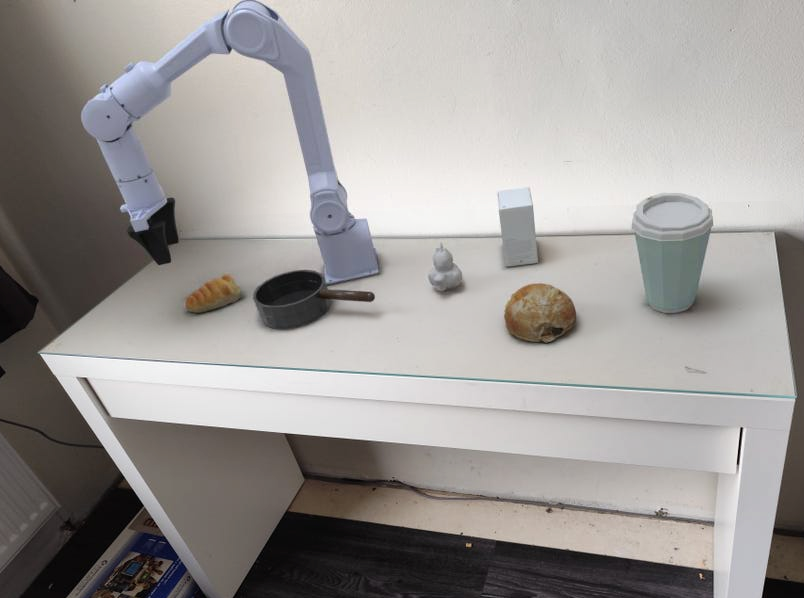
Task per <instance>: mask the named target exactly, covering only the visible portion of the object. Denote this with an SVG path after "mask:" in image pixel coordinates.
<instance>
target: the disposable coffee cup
mask: <svg viewBox="0 0 804 598" xmlns="http://www.w3.org/2000/svg"><path fill="white" fill-rule="evenodd" d="M630 227H631V230H633V232H634V237H635V242H636V248H637V253H638V259H639V265H640V271H641V276H642V281H643V287H644V293H645V299H646V302H648V305H649V307H651V308H652V309H653V311H656V312H660V313H662V314H678V313H682V312H685V311H687V310H688V309H689V308H691V307H692V305H693V304H694V302H695V301H696V297H697V294H698V293H697V292H698V288H699V284H700V280H701V276H702V272H703V271H702V270H703V267H704V262H705V257H706V253H707V249H708V245H709V239H710V235H711V232H712V228H713V227H714V216H713V210H712V208H710V207H709V205H708V204H707V203H705V201H702V200H701V199H700V198H699V197H697V196H693V195H689V194H685V193H681V192H680V193H679V192H662V193H658V194H653V195H651V196H649V197H646V198H644V199H643V200H641V201H640V202H639V203H638V204H636V207H635V211H634V212H633V215H632V219H631V226H630Z"/></svg>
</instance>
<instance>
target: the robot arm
mask: <svg viewBox="0 0 804 598" xmlns="http://www.w3.org/2000/svg"><path fill="white" fill-rule="evenodd" d="M232 51H234V52H236V53H237V54H239V55H241V56H243V57H246V58H250V59H253V60H258V61H262V62H264V63H266V64H267V65H269V66H271V67H272V68H274V69H276V70H277V71H278V72H280V73H282V75H283V78H284V83H285V87H286V92H287V95H288V100H289V104H290V109H291V111H292V116H293V121H294V125H295V130H296V132H297V137H298V142H299V145H300V149H301V155H302V158H303V162H304V167H305V171H306V175H307V180H308V187H309V193H310V195H309V197H310V210H309V218H310V219H309V220H310V222H311V224H312V228H313V231H314V234H315V239H316V241H317V245H318V248H319V253H320V255H321V258H322V261H323V269H324V277H325V280H326V283H327V286H328V285H332V284H333V285H334V284H336V283H341V282H346V281H350V280H356V279H360V278H364V277H369V276H374V275H378V274H379V272H380V271H379V266H378V260H377V259H378V258H379V257H378V252H377V249H376V247H374V242H373V238H372V234H371V230H370V226H369V222H368V219H367V218H355V215H354V214H353V213H351V212H350V211H349V208H348V193H347V190H346V188H345V186H344V185H343V184H342V183H341V181H340V179H339V176H338V173H337V168H336V166H335V161H334V156H333V153H332V148H331V143H330V138H329V133H328V130H327V129H328V128H327V124H326V119H325V115H324V110H323V106H322V101H321V96H320V91H319V86H318V82H317V78H316V73H315V68H314V64H313V58H312V54H311V51H310V49H309V48H308V46H307V45H306V43H304V42H303V41H302V39H301V38H300V37H299V36H298V35H297V34H296V33H295V32H294V31H293V30H292V28H291V27H290V26H289V25H288V24H287V23H286V22H285V21H284V19H283V18H282V17H281V15H280V14H279V12H278V11H277V10H275V9H273V8H271V7H270V6H268V5H266V4H264V3H263V2H261V1H259V0H240V1H239V2H237V3H236V4H235V5H234V7H232V10H231V11H230V8H228V9H226V10H223V11H222V12H220V13H218V14H216V15H215V16H212V17H211V18H209V19H207V20H206V21H204V22H203V23H202V24H201V25H199V26H198V27H197V28H196V29H195V30H194V31H192V32H191V33H190V34H188V36H186V37H185V38H184V39H183V40H181V41H180V42H179V43H178V44H177V45H176V46H174V47H173V48H172V49H170V51H169V52H167V53H166V54H165V55H163V56H162V57H161V58H160V59H159V60H158V61H157V62H150V61H149V62H148V61H143V60H141V61H138V62H137V63H136V64H135V63H134V62H129V63H128V64H127V65H125V67H123V70H124V71H125V73H123V74H122V75H121V76H120V77H118V78H117V79H116V80H115V81H113V82H112V83H111V84H109V85H108V83H105V84H104V85H102V86H101V87H100V88H99V91H100V93H98V94H96V95H95V96H94V97H93V98H91V99H89V100H88V101H87V103H86V104H85V105H84V107H83V109H82V110H81V114H80V120H81V123H82V126H83V128H84V130H85V131H86V132H87V133H88V134H89V135H90V136H91V137H93V138H94V139H96V141H97V144H98V146H99V149H100V150H101V154H102V155H103V158H104V160H105V162H106V164H107V166H108V168H109V171H110V173H111V175H112V177H113V179H114V181H115V183H116V185H117V187H118V189H119V192H120V194H121V196H122V198H123V200H124V203H123V204H121V206H120V208H119V210H120V212H121V213H128V214H129V217H130V220H129V222H130V224H131V225H129V226H128V228H127V229H126V233H127V234H128V237H130V238H131V239H133V240H134V241H135V242H137V243H138V244H139V245H140V246H141V247H143V249H144V251H146V252H147V253H148V255H149V256H150V257H151V258H152V259H153V261H154V262H155V263H156V264H157V265H158V266H163V265H167V264H171V263H172V255H171V251H170V248H169V246H172V245H176V244H179V242H180V239H179V234H178V233H179V232H178V228H177V224H176V215H175V211H176V209H175V207H176V199H175V198H174V197H166V194H165V192H164V190H163V188H162V186H161V184H159V181H158V178H157V177H156V174H155V172H154V170H153V167H152V165H151V163H150V161H149V158H148V156H147V153H146V151H145V149H144V146H143V143H142V142H141V140H140V138H139V136H138V133H137V131H136V129H135V127H134V122H138V121H140V120H141V119H143V118H144V117H145V116H146V115H148V114H149V113H151V111H153V110H154V109H155V108H157V107H158V106H160V105H161V104H162V103H164V101H166V100H168V99H169V98H170V97H171V95H172V94H171V93H172V87H171V86H172V82H174V81H175V80H176V79H178V78H179V77H181V76H182V75H184V74H185V73H187V72H188V71H189V70H191V69H192V68H193V67H195V66H196V65H198V64H199V63H200V62H202V61H203V60H204V59H206V58H207V57H209V56H211V55H212V54H214V55H230V54H231V52H232Z"/></svg>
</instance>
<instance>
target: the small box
mask: <svg viewBox="0 0 804 598" xmlns="http://www.w3.org/2000/svg"><path fill="white" fill-rule="evenodd" d="M496 194H497V201H498V215H499V216H498V217H499V223H500V225H499V226H500V233H501V241H502V249H503V257H504V264H505V267H506V268H509V267H516V266H525V265H533V264H538V263H539V255H538V246H537V245H538V244H537V234H536V224H535V223H536V222H535V213H534V212H535V211H534V203H533V198H532V193H531V188H530V187H527V186H526V187H519V188H513V189H505V190H504V189H503V190H498V191H497V192H496Z"/></svg>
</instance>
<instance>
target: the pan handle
mask: <svg viewBox="0 0 804 598" xmlns="http://www.w3.org/2000/svg"><path fill="white" fill-rule="evenodd" d="M319 297H320V298H321V299H331V301H332V300H333V301H347V302H348V301H349V302H364V303H372V302H374V301H375V299H376V295H375V293H374V292H373V291H367V290H366V291H364V290H349V289H333V288H332V289H331V288H328V289H321V290H320V292H319Z"/></svg>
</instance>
